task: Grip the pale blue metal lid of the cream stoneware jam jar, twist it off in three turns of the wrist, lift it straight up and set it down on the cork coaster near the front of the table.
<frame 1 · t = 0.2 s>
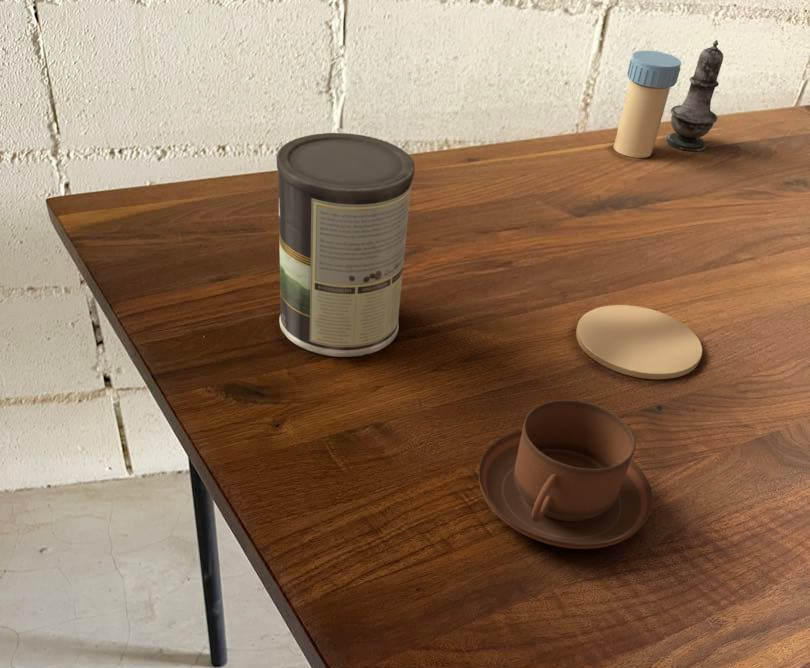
coffee can: (339, 326, 76), on the table
coaster: (637, 343, 78), on the table
cup and saucer: (559, 504, 62), on the table
jar: (632, 150, 110), on the table
salt shaker: (684, 144, 114), on the table
lid: (655, 62, 103), point 10 cm above the table, screwed on, not yet turned
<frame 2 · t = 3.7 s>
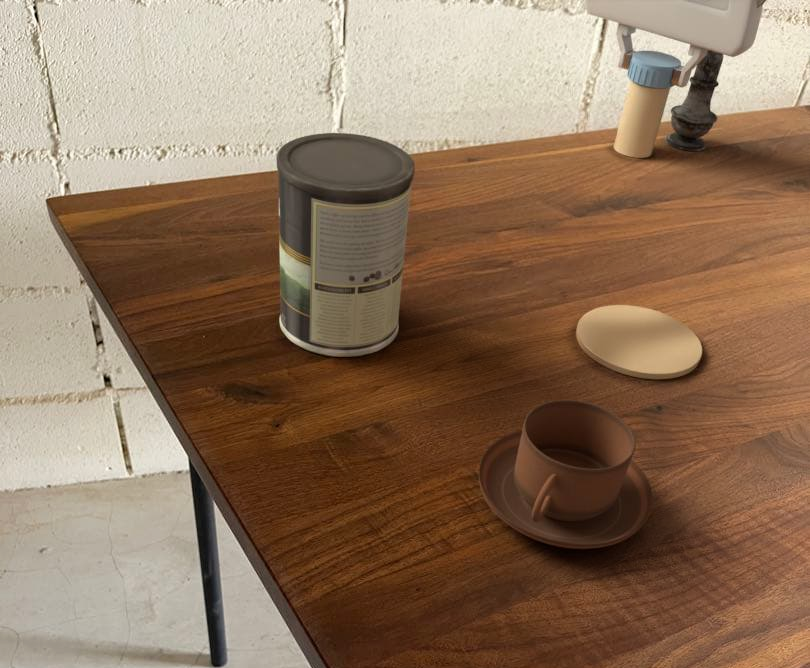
hand: (651, 76, 104), 9 cm above the table, tool pointing down, fingers closed on lid, 5 cm apart
lid: (656, 62, 103), point 10 cm above the table, screwed on, not yet turned, touching gripper
everything else where it was.
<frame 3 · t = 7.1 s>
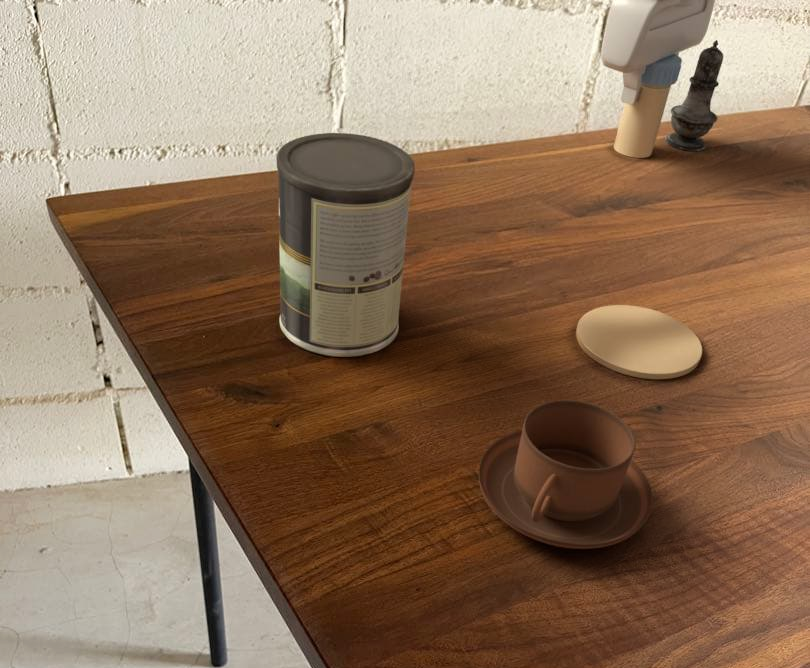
hand: (641, 96, 106), 6 cm above the table, tool pointing down, fingers closed on jar, 5 cm apart
jar: (632, 150, 110), on the table, touching gripper
lid: (656, 60, 103), point 10 cm above the table, turned 89° so far, risen 0.2 cm, still on its thread
everything else where it was.
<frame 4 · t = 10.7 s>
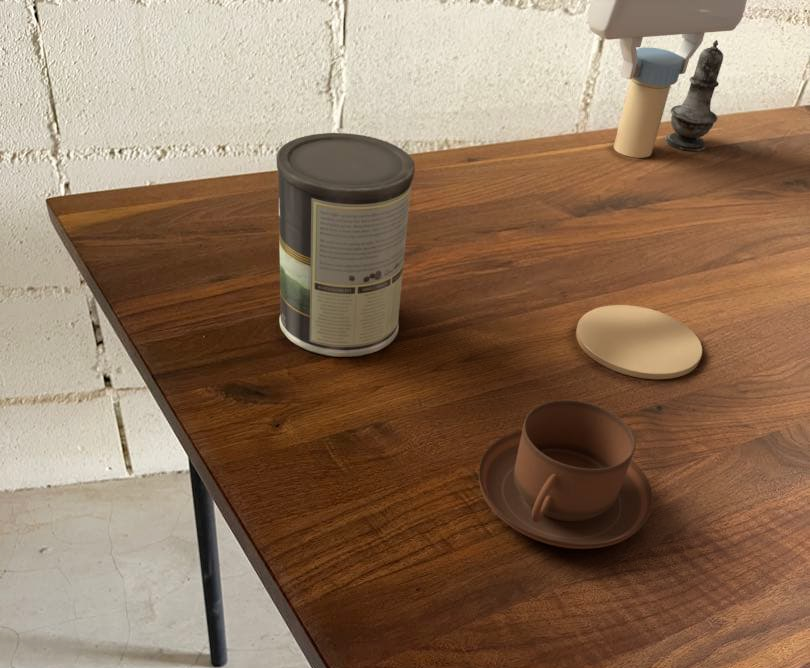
hand: (652, 75, 104), 9 cm above the table, tool pointing down, fingers closed on lid, 5 cm apart
jar: (632, 149, 110), on the table, touching lid
lid: (657, 59, 103), point 10 cm above the table, off its thread, touching gripper, jar
everything else where it was.
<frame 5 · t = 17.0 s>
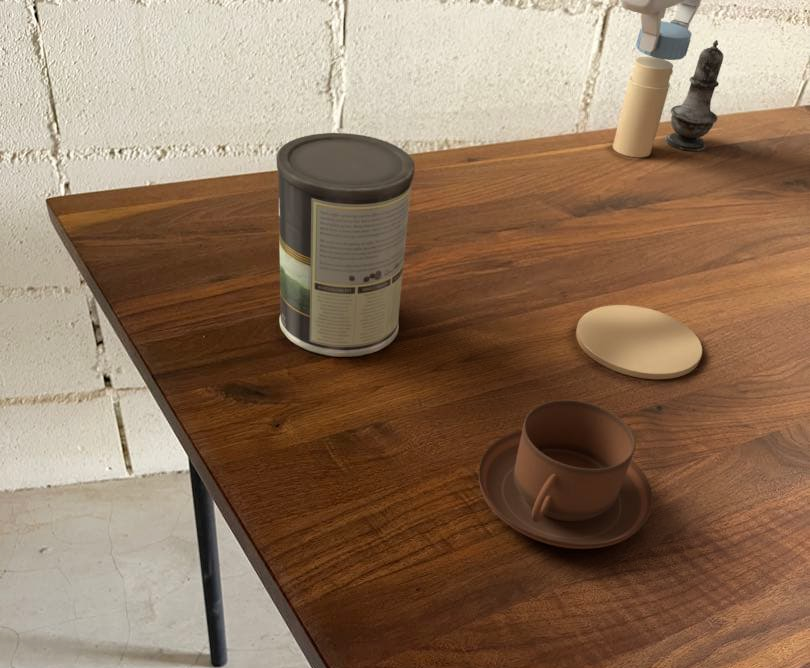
hand: (662, 44, 102), 12 cm above the table, tool pointing down, fingers closed on lid, 5 cm apart
jar: (631, 149, 110), on the table
lid: (665, 33, 101), point 13 cm above the table, off its thread, touching gripper
everything else where it was.
when the fingers open (1 cm above the table, at t = 27.3 s): lid stays where it is, resting on coaster.
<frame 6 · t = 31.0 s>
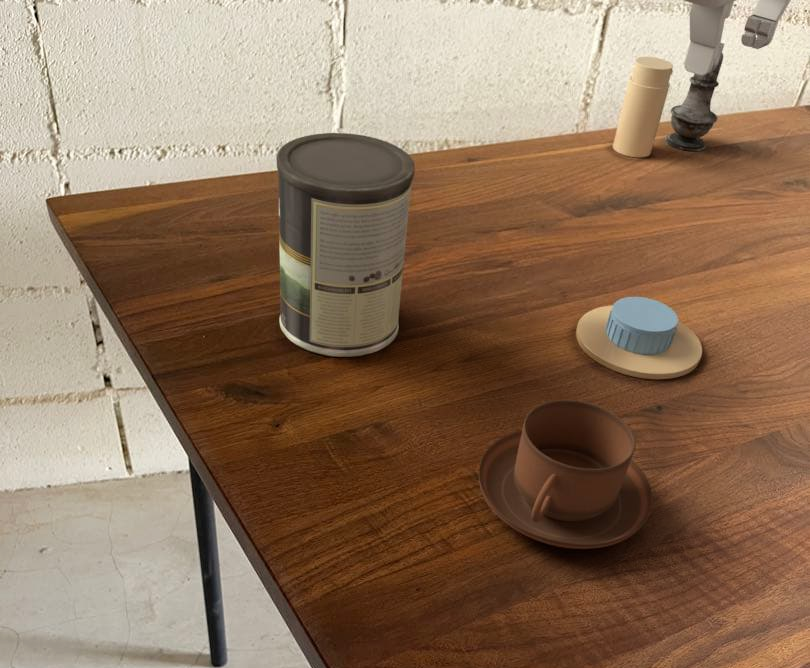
hand: (727, 58, 62), 23 cm above the table, tool pointing down, fingers open, 8 cm apart
lid: (644, 317, 76), point 2 cm above the table, off its thread, touching coaster
everything else where it was.
at the end: lid came off its thread; lid inside the target area on the coaster (0.2 cm from its centre), point 2.5 cm above the coaster's base; the gripper is holding nothing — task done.
